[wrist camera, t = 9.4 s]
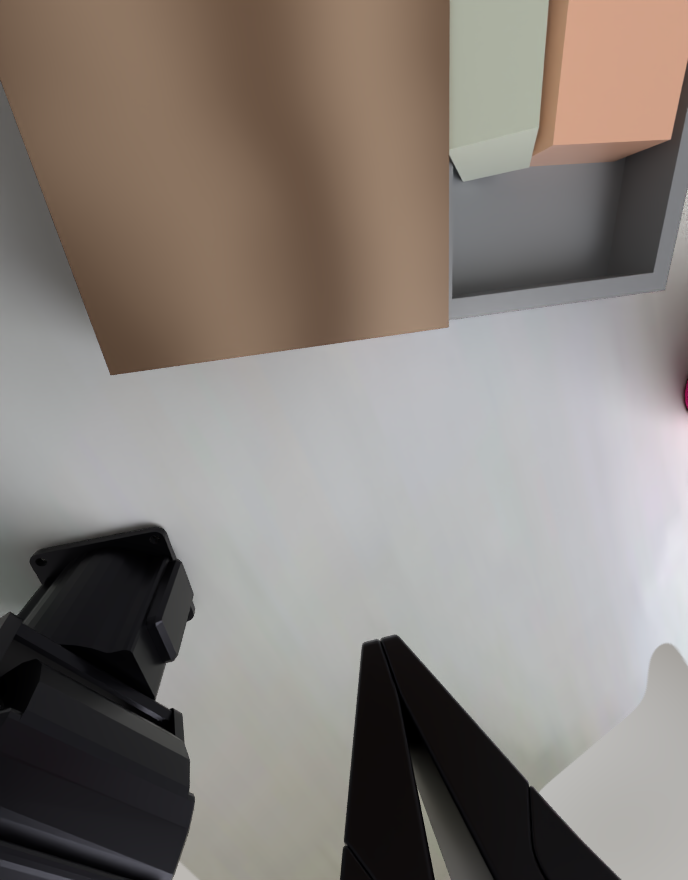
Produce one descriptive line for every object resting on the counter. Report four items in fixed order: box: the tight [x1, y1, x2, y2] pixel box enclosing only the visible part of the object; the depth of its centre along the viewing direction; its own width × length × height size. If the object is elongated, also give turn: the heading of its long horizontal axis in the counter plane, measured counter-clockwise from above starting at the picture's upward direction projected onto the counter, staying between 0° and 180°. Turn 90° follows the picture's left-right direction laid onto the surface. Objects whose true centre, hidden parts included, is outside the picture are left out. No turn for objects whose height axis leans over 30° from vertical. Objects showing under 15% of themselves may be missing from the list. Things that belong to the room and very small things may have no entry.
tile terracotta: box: [529, 0, 688, 167], centre depth 14 cm, size 5×5×2 cm
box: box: [449, 61, 688, 320], centre depth 14 cm, size 11×16×3 cm
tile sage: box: [449, 0, 549, 182], centre depth 12 cm, size 5×5×2 cm
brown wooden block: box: [0, 0, 450, 375], centre depth 11 cm, size 12×16×5 cm
